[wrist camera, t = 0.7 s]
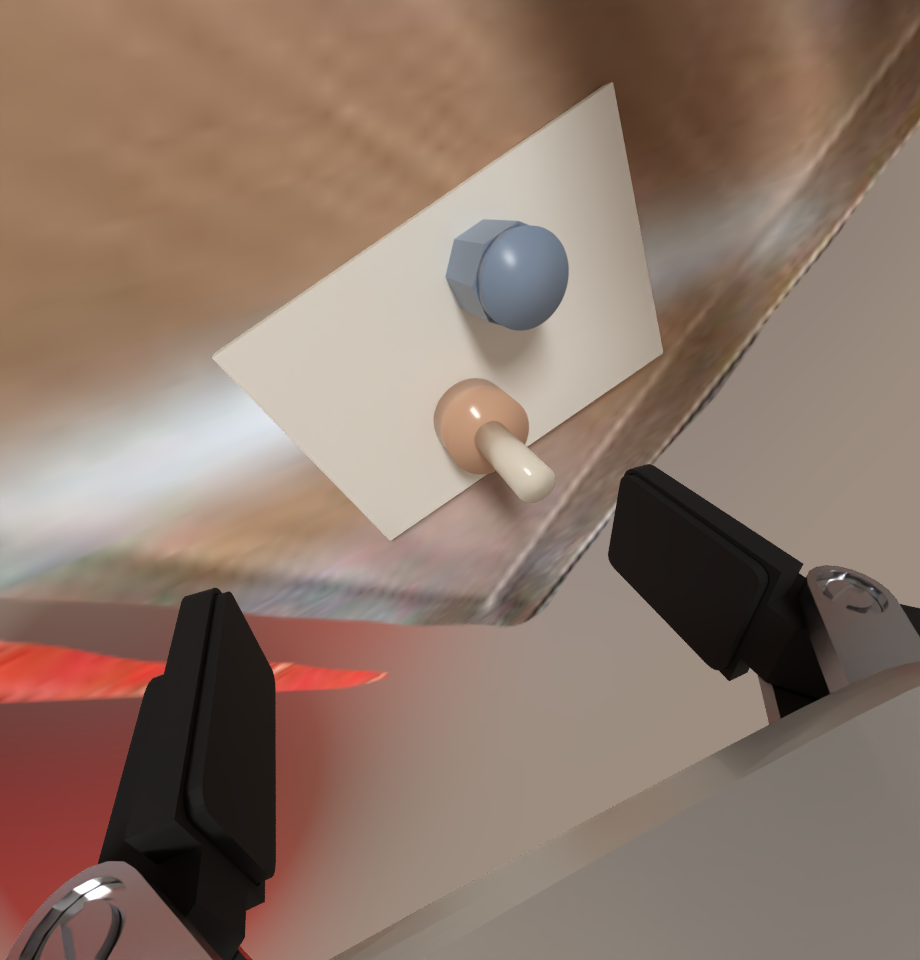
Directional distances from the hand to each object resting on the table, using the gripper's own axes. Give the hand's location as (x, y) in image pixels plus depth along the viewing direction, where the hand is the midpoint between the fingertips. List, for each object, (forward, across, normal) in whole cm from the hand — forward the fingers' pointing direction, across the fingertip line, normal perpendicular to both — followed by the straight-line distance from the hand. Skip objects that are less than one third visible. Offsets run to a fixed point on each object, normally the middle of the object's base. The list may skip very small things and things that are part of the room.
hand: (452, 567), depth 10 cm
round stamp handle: (+23, -9, +8) cm, 26 cm away
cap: (+23, -11, -3) cm, 25 cm away
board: (+24, -10, +3) cm, 26 cm away
